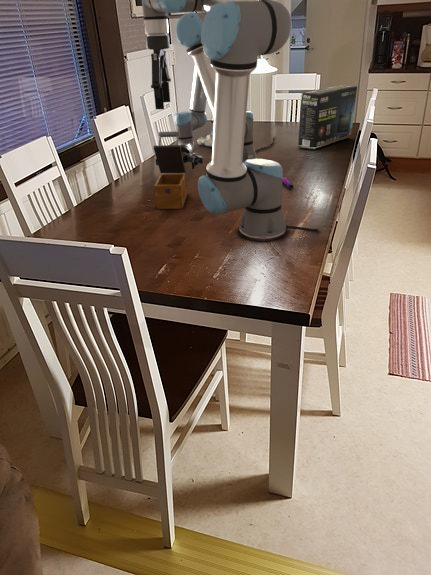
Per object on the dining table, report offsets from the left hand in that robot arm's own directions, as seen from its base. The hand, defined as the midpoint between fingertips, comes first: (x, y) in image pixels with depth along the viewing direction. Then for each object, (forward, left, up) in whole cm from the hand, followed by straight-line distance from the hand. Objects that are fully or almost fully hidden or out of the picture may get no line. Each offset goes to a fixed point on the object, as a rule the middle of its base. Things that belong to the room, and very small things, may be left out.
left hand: (176, 166), depth 189 cm
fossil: (-66, -20, -8) cm, 70 cm away
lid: (+15, +7, +7) cm, 18 cm away
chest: (+17, +8, -8) cm, 21 cm away
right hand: (+18, +9, +27) cm, 34 cm away
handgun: (-21, +36, -8) cm, 43 cm away
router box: (-90, +35, -8) cm, 97 cm away
